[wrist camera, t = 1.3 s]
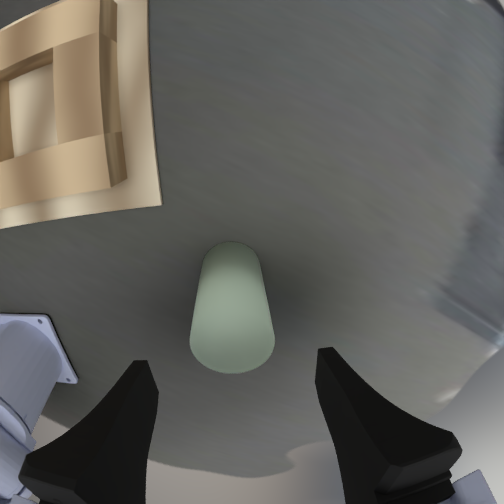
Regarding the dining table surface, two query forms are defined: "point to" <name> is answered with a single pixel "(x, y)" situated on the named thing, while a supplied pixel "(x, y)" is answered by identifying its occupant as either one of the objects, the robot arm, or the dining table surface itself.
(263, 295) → the dowel
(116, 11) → the socket block
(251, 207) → the dining table surface
